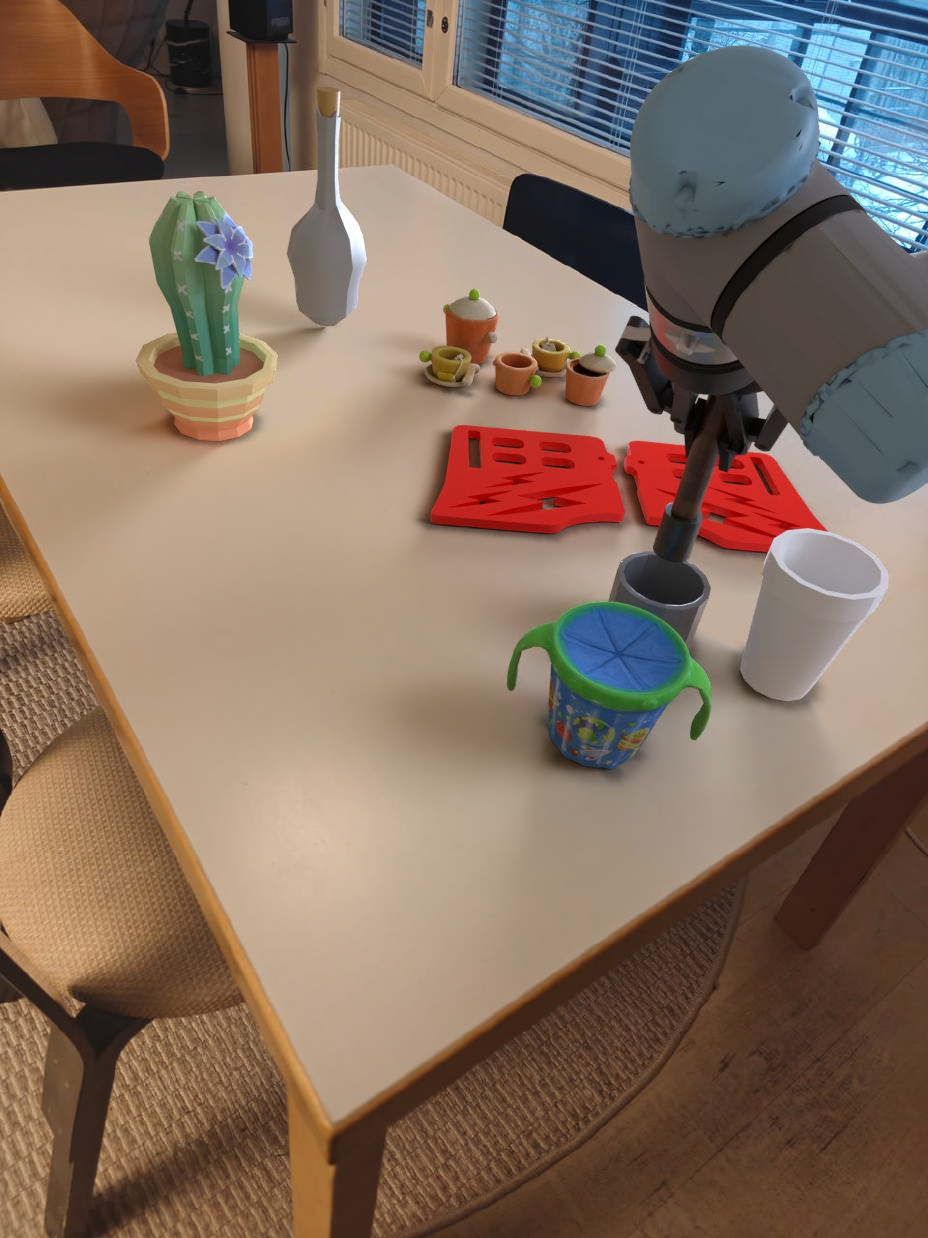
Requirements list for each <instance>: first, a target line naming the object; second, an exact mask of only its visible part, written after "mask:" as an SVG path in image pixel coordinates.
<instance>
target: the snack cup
mask: <svg viewBox="0 0 928 1238" xmlns="http://www.w3.org/2000/svg"><path fill="white" fill-rule="evenodd" d="M537 647H539V648H541V649H543V650H545V652H546V653H547V655H548V657H549V660H550V676H549V688H548V703H547V704H548V713H547V727H548V733H549V735H550V738H551V741H552V743H553V744H554V746H555V747H556V748H557V749H558V750H559V752H560V754H561V756H563V757H564V758H566V759H568V760H571V761H575V762H576V763H578V764H580V765H582V766H585V767H590V768H604V769H607V770H614V769H616V768H617V767H618V766H621V765H622V764H623V763H626V762H628V761H629V760H630V759H631V758H633V757H634V756H635V755H636V754H637V753H638V752H639V750H640V748H641V747H642V745H643V744H644V742H645V740H646V739H647V738H648V736H649V735H650V733H651V731H652V730H653V729H654V727H655V726H656V723H657V721H658V720H659V719H660V718H661V716H662V714H663V713H664V711H665V709H666V707H667V706H668V705H669V704H671V702H673V700H675V699H676V698H677V697H678V696H679V694H680V693H681V691H683V690H685V689H686V688H692V689H696V690H698V693H699V696H700V697H701V700H702V705H701V706H700V709H699V710H698V712H697V713H696V714H695V715H694V717H693V718H692V721H691V723H690V730H689V737H690V739H691V740H692V741H697V740H698V739H699V738H700V737H701V735H702V734H703V732H704V731H705V729H706V727H707V725H708V722H709V721H710V720H709V719H710V716H711V711H712V697H713V691H712V686H711V681H710V679H709V676H708V675H707V672H706V671H705V670H704V668H703V667H702V666H701V664H700V663H698V662H697V661H695V660H694V658H692V657H691V654H690V650H689V651H688V648H687V646H686V644H685V643H684V641H683V639H682V638H681V637H680V635H679V634H678V633H677V632H676V631H675V630H674V629H673V628H672V627H671V626H670V625H668V624H667V623H666V622H664V621H663V620H662V619H660V618H658V617H657V616H655V615H653V614H651V613H650V612H648V611H645V610H643V609H640V608H637V607H634V606H631V605H627V604H623V603H618V602H608V601H606V600H605V601H604V600H603V601H591V602H590V601H589V602H586V603H581V604H578V605H574V606H573V607H571V608H568V609H567V610H566V611H564V612H563V613H562V614H561V615H560V616H559V617H558V618H557V619H556V620H555V621H551V622H546V623H542V624H540V625H537V626H535V627H533V628H530V629H529V630H528V631H527V632H526V633H524V634H523V636H522V637H520V639H519V640H518V641H517V643H516V645H515V646H514V649H513V652H512V655H511V658H510V661H509V665H508V668H507V674H506V687H507V690H508V691H509V692H512V691H514V690H515V688H516V686H517V680H518V673H519V664H520V660H521V657H522V652H523V651H526V650H528V649H532V648H537Z"/></svg>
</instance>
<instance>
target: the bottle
mask: <svg viewBox="0 0 928 1238" xmlns="http://www.w3.org/2000/svg"><path fill="white" fill-rule="evenodd" d="M316 100H317V108H316V111H315V121H316V132H317V133H316V134H317V166H316V167H317V172H316V173H317V175H316V176H317V179H316V187H315V195H314V201H313V204H312V206H310V208H309V210H308V211H307V212H306V213H304V215H303V216H302V217H301V218H300V219H299V220H298V221H297V222H296V223H295V224H294V225H293V226H292V228H291V230H290V234H289V235H290V236H289V240H288V245H287V251H286V256H287V259H288V262H289V265H290V268H291V272H292V276H293V278H294V279H293V280H294V289H295V290H294V291H295V302H296V306H297V309H298V311H299V312H300V313H301V314H303V315H304V316H305V317H306V318H308V319H309V320H311V321H312V322H313V323H315V324H317V325H320V326H322V327H323V326H324V327H334V326H336V325H338V324H339V323H340V322H341V321H343V320H344V319H345V318H347V317H348V316H349V315H350V314H351V313H353V312H354V311H355V310H356V309H357V307H358V299H359V298H358V297H359V289H360V288H359V286H360V282H361V279H362V276H363V273H364V270H365V267H366V264H367V262H368V259H367V252H366V246H365V240H364V234H363V233H362V231H361V227H360V224H359V223H358V221H357V219H355V218H354V216H353V215H352V213H351V212H350V210H348V208H347V207H346V205H345V204H344V202H343V201H342V199H341V195H340V184H339V147H340V146H339V144H340V143H339V142H340V141H339V138H340V128H341V121H342V116H341V106H340V103H341V89H339V88H336V87H332V86H318V87H316Z"/></svg>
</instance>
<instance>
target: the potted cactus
mask: <svg viewBox="0 0 928 1238" xmlns="http://www.w3.org/2000/svg"><path fill="white" fill-rule="evenodd" d="M148 244H149V249H150V255H151V260H152V266H153V270H154V276H155V281H156V283H157V286H158V288H159V290H160V291H161V294H162V295H163V297H164V299H165V301H166V303H167V305H168V306H169V308H170V312H171V315H172V320H173V323H174V327H175V330H176V331H175V332H171V333H166V334H164V335H162V336H160V337H158V338H155V339H153V340H150V341H148V342H146V343H145V344H143V345H142V346H141V349H140V351H139V353H138V355H137V356H136V359H135V363H136V366H137V368H138V371H139V373H140V374H141V375H142V377H143V378H144V380H145V381H146V382H147V384H148V385H149V386H150V387H151V388H152V389H153V390H154V392H155V394H156V395H157V398H158V399H159V400H160V402H161V403H162V405H163V406H164V407H165V409H167V411H168V412H170V414H171V415H172V416H174V421H173V425H174V426H175V427H176V429H177V430H178V431H179V433H180V434H181V435H184V436H186V437H189V438H191V439H195V440H198V441H209V442H210V441H211V442H222V441H226V440H227V441H228V440H231V439H237V438H240V437H241V436H243V435H244V434H246V433H247V432H249V431H250V430H252V427H253V422H254V414H255V413H256V411H258V410H259V408H260V406H261V404H262V402H263V399H264V396H265V393H266V391H267V387H268V386H269V385H271V384H273V383H274V378H275V374H276V369H277V365H278V360H279V355H278V353H277V352H276V351H275V350H274V349H273V348H272V347H270V346H269V344H268V343H266V341H264V340H261V339H258V338H255V337H252V336H249V335H246V334H243V333H241V332H240V327H239V308H238V307H239V306H238V305H239V301H240V297H241V293H242V289H243V286H244V284H245V283H244V282H245V278H246V279H247V280H248V281H251V280H252V261H251V259H253V258H254V252H253V242H252V241H251V240H250V238H249V237H248V236H247V235H246V232H245V229H244V228H243V227H242V226H241V225H238V226H237V224H236V222H235V221H234V220H233V219H232V217H230V215H229V214H228V213H227V211H226V210H225V209H224V208H223V206H222V205H221V203H220V202H219V201H218V200H217V199H216V197H215V196H214V195H213V196H210V197H209V196H208V197H207V196H206V194H205V193H204V191H202V190H197V191H196V192H194V193H193V196H192V197H191V196H190V194H188V192H185V191H183V190H179V191H177V192H176V195H175V196H170V198H169V200H168V201H167V203H166V204H165V206H164V208H163V210H162V211H161V213H160V214H159V216H158V218H157V220H156V222H155V223H154V226H153V228H152V231H151V233H150V235H149V237H148Z"/></svg>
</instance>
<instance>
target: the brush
mask: <svg viewBox="0 0 928 1238" xmlns="http://www.w3.org/2000/svg"><path fill="white" fill-rule="evenodd" d="M706 400H707V401H706V404H705V407H704V410H703V413H702V416H701V420H700V423H699V426H698V429H697V432H696V435H695V438H694V441H693V444H692V447H691V450H690V453H689V456H688V459H687V462H685V464H686V465H685V468H684V471H683V474H682V477H680V479H681V480H680V484H679V487H678V490H677V493H676V496H675V499H674V502H673V503H669V504H668V505H667V506H666V507H665V510H664V513H663V516H662V519H661V522H660V525H659V526H658V529H657V532H656V534H655V537H654V542H653V544H652V551H654V553H655V554H656V555H657V556H658V557H660V558H661V559H663V560H666V561H669V562H674V563H680V562H684V561H686V560H687V561H688V560H689V559H690V557H691V555H692V552H693V549H694V546H695V543H696V540H697V537H698V536H699V535H698V532H699V529H700V526H701V524H702V521H703V514H702V512H701V511H700V508H701V505H702V502H703V499H704V496H705V494H706V491H707V488H708V485H709V482H710V479H711V477H712V474H713V471H714V468H715V465H716V462H717V460H718V457H719V454H720V440H721V438H722V436H723V434H724V432H725V430H726V428H727V423H726V418H725V413H724V410H723V409H720V408H719V406H718V401H717V397H716V395H707V398H706ZM716 466H717V465H716Z"/></svg>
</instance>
